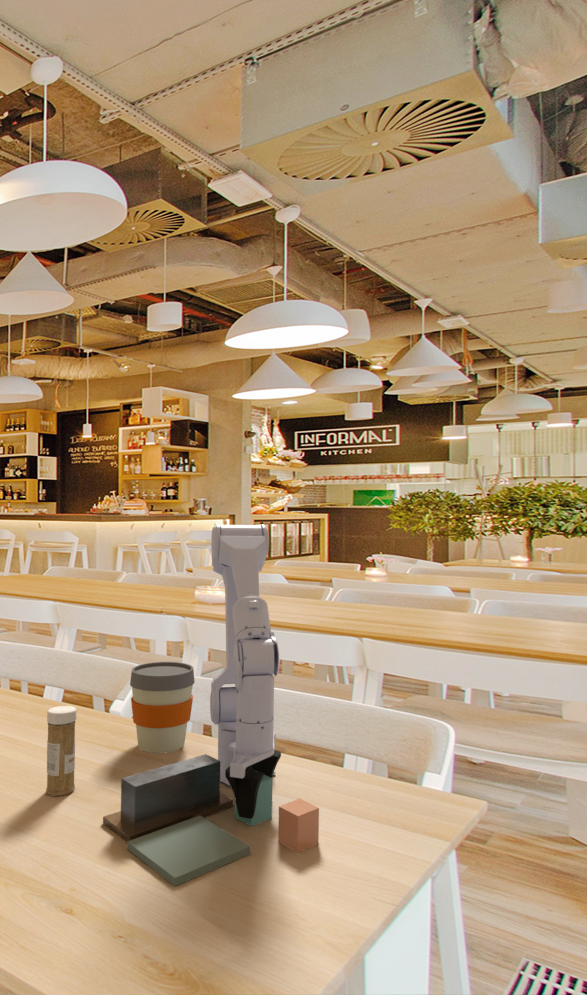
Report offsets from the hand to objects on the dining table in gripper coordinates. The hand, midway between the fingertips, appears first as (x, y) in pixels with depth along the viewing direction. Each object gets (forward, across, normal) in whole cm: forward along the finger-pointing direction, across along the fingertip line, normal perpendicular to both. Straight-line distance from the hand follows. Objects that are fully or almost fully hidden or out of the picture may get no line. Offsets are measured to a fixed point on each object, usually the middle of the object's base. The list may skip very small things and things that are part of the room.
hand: (253, 808), depth 101 cm
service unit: (+1, +3, -12) cm, 13 cm away
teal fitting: (+1, 0, 0) cm, 1 cm away
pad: (+1, +12, -5) cm, 13 cm away
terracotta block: (+2, +5, +9) cm, 10 cm away
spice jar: (+2, +1, -33) cm, 33 cm away
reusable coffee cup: (+2, -23, -28) cm, 37 cm away
